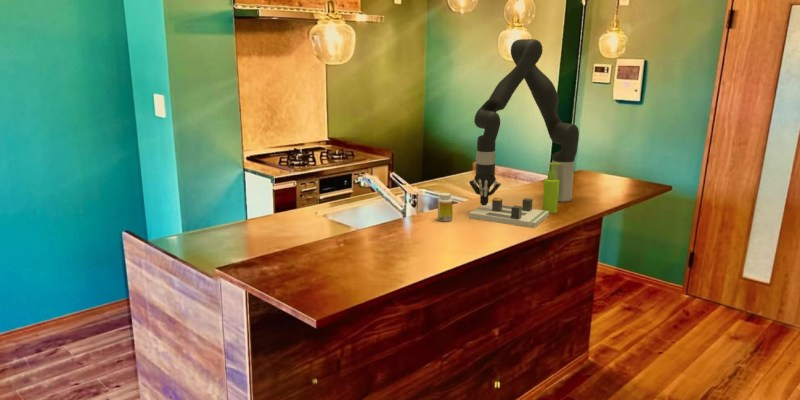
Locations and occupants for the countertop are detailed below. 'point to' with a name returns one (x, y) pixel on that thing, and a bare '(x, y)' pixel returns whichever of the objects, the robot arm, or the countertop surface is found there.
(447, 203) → the supplement bottle
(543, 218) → the breaker panel
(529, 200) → the breaker
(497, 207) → the breaker mid
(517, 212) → the block
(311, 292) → the countertop surface
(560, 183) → the robot arm
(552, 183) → the soap dispenser
